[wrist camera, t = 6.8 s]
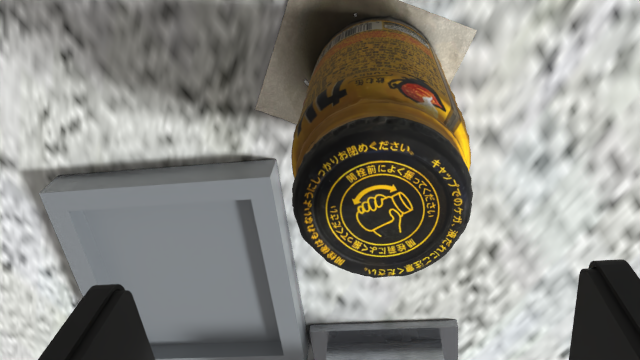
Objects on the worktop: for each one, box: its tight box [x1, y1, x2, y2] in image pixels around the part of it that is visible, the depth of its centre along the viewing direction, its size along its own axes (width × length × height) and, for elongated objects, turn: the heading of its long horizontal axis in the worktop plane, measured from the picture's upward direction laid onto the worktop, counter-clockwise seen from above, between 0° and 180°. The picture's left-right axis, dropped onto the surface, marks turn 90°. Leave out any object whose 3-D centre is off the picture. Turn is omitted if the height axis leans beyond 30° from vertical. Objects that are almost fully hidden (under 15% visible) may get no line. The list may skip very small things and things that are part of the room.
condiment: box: [255, 0, 477, 278], centre depth 20 cm, size 7×8×12 cm
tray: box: [39, 159, 309, 360], centre depth 31 cm, size 13×12×2 cm
